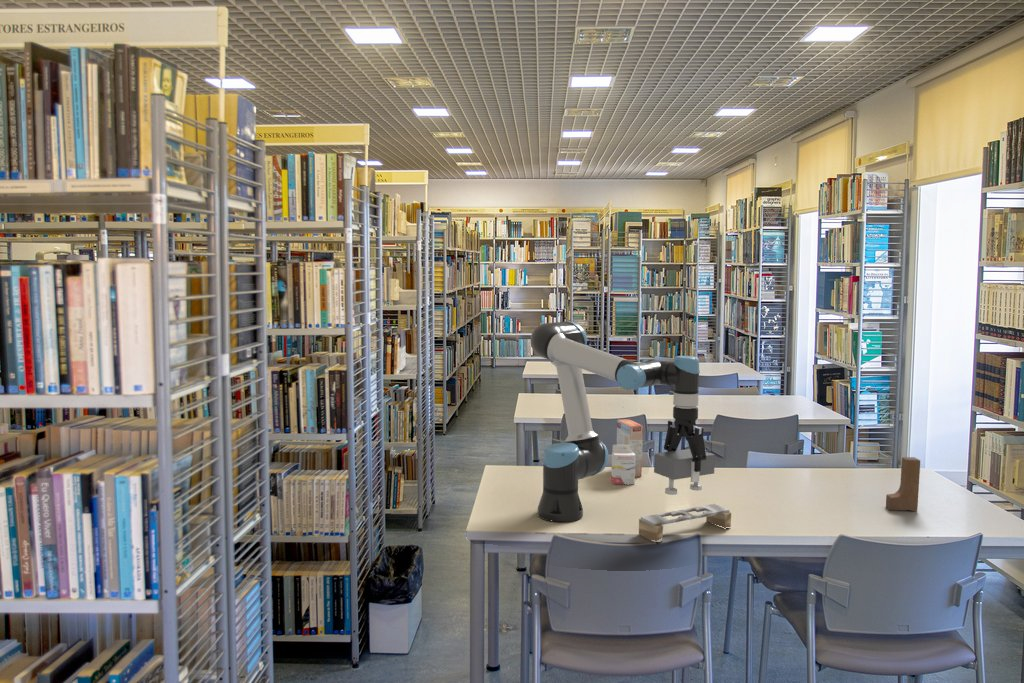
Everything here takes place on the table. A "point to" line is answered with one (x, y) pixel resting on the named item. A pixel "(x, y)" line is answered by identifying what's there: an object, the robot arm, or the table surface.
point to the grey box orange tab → (681, 467)
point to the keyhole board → (682, 519)
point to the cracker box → (631, 440)
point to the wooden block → (906, 487)
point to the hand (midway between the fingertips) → (683, 477)
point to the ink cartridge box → (623, 465)
